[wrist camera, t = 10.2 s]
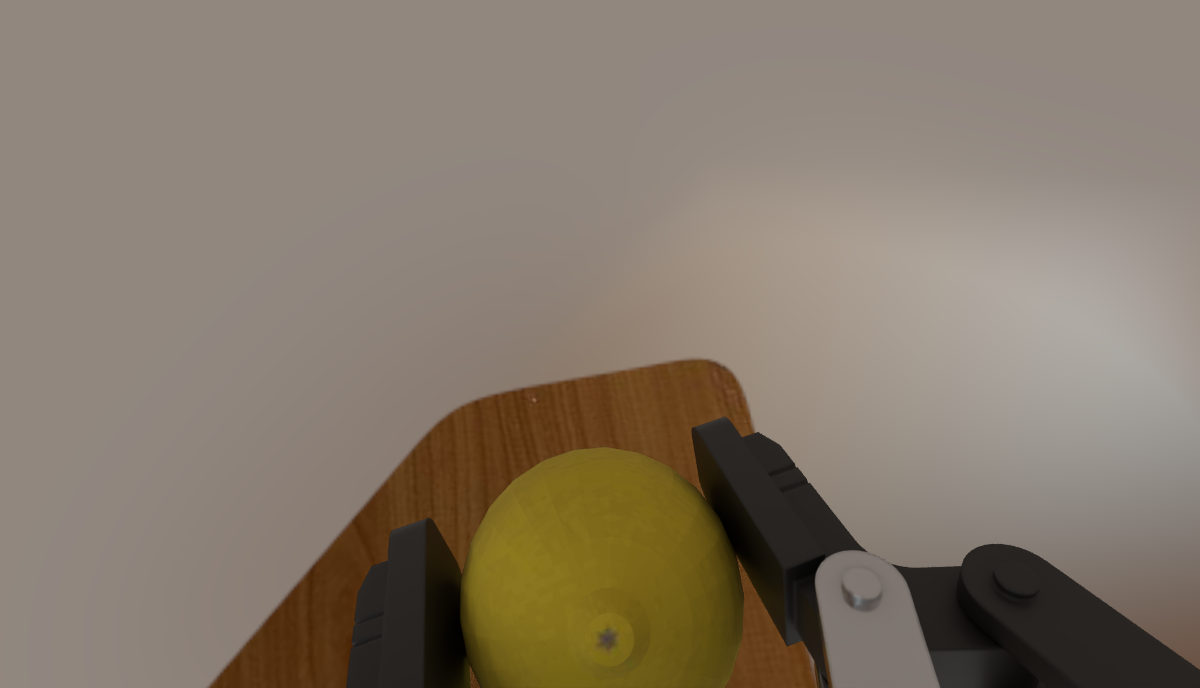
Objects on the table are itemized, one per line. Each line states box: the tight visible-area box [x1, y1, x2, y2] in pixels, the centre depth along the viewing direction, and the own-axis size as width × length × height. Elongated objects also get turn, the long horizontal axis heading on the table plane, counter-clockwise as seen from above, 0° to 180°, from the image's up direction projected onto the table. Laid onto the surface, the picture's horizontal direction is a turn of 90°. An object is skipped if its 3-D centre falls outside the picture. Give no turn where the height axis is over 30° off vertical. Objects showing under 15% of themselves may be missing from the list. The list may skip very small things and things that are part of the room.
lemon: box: [460, 447, 744, 688], centre depth 12 cm, size 6×6×8 cm
